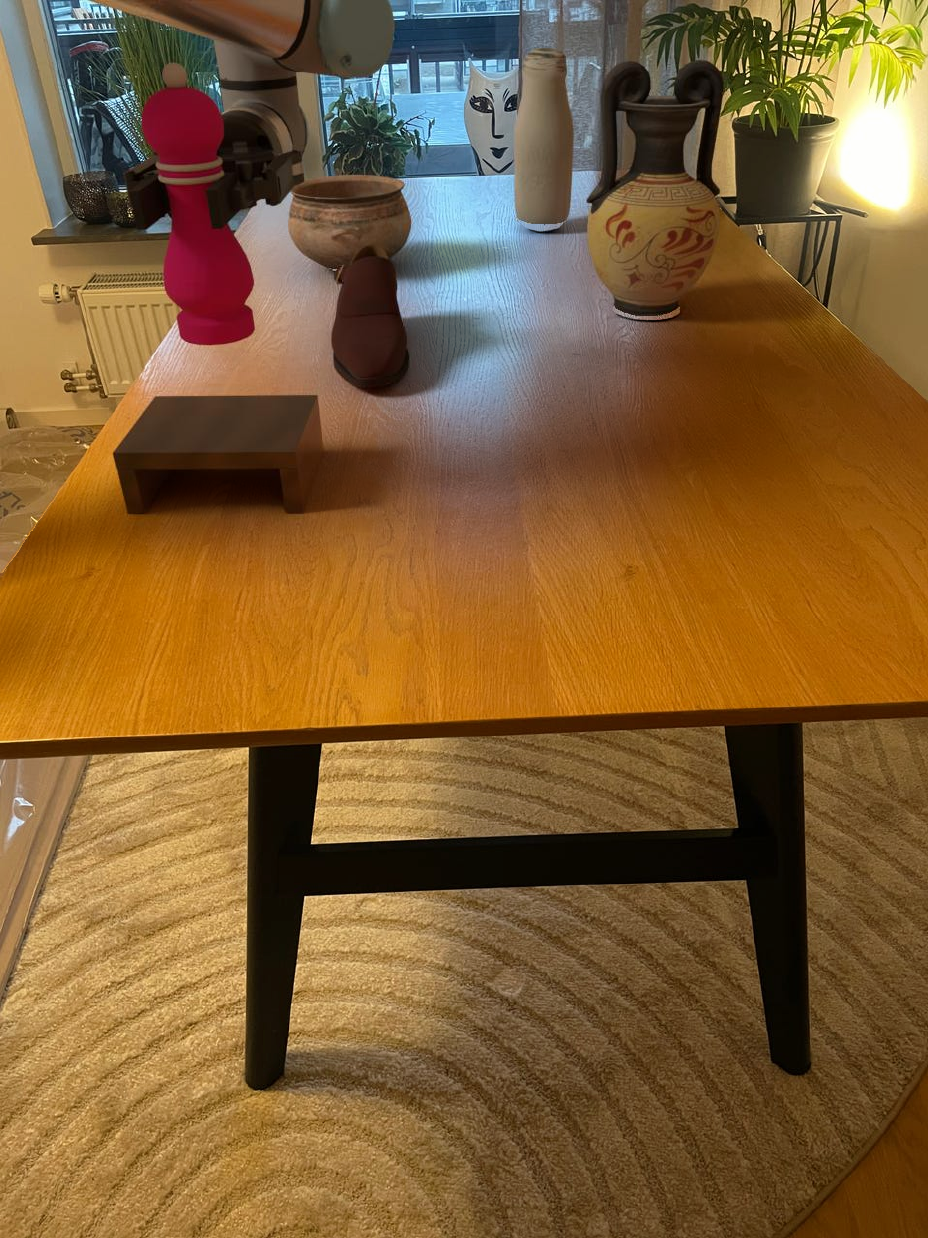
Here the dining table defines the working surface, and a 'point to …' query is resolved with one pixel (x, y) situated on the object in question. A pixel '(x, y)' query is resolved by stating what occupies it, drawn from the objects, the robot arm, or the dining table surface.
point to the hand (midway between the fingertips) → (176, 209)
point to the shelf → (222, 442)
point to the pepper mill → (197, 216)
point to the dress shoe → (369, 321)
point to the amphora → (655, 189)
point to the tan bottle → (543, 140)
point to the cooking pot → (348, 217)
